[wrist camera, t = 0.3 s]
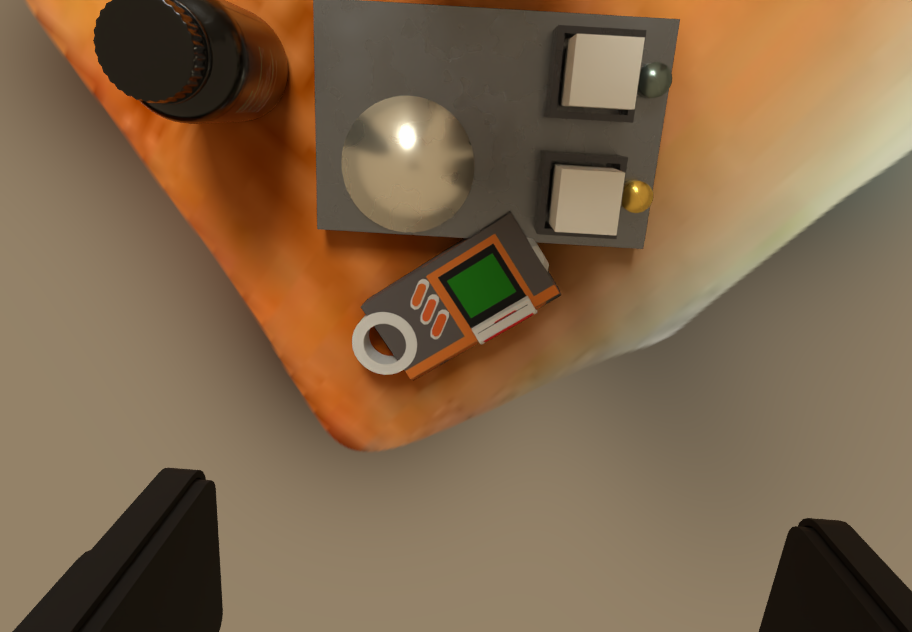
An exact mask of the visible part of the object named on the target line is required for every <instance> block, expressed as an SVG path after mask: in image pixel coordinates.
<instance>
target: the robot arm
mask: <svg viewBox="0 0 912 632" xmlns="http://www.w3.org/2000/svg"><path fill="white" fill-rule="evenodd" d="M218 539H219V538H218V521H217V504H216V488H215V484H214V482H213V481H211V480H206V479H205V475H204V473H203V472H202V471H201V470H190V469H177V468H164V469H163V470H162V471H161V472H159V473H158V475H157V476H156V477H155V478H154V479H153V480H152V481H151V482H150V484H149V485H148V486H147V487H146V488H145V489H144V490H143V492H142V493H141V494H140V495H139V496H138V497H137V498H136V500H135V501H134V502H133V503H132V504H131V505H130V506H129V508H128V509H127V510H126V511H125V512H124V513H123V514H122V515H121V516H120V518H119V519H118V520H117V521H116V522H115V524H113V526H112V527H111V528H110V529H109V530H108V531H107V533H106V534H105V535H104V536H103V537H102V538H101V539H100V540H99V541H98V543H97V544H96V545H95V546H94V547H93V548H92V549H91V550H90V551H87V552H85V553H84V554H83V555H82V556H81V557H80V558H78V560H76V561H75V563H74V564H73V565H72V566H71V567H70V568H69V569H68V570H67V572H66V573H65V574H64V575H63V576H62V577H61V578H60V579H59V580H58V582H57V583H56V584H55V585H54V586H53V587H52V588H51V590H49V592H48V593H47V594H46V595H45V596H44V597H43V598H42V600H41V601H40V602H39V603H38V604H37V605H36V606H35V607H34V608H33V610H32V611H31V612H30V613H29V614H28V615H27V616H26V617H25V619H24V620H23V621H22V622H21V623H20V624H19V625H18V626H17V628H16V629H15V630H14V631H13V632H219V630H220V627H221V622H222V615H223V613H222V612H223V608H222V591H221V575H220V574H221V573H220V556H219V540H218ZM759 632H912V591H911V590H910V589H909V588H908V587H907V586H906V585H905V584H904V583H903V582H902V581H901V580H900V579H899V578H898V576H897V575H896V574H895V573H894V572H893V571H892V570H891V569H890V568H889V567H888V566H887V565H886V564H885V562H884V561H883V560H882V559H881V558H880V557H879V556H878V555H877V554H876V553H875V552H874V551H873V550H872V549H871V548H870V547H869V545H868V544H867V543H866V542H865V541H864V540H863V539H862V538H861V537H860V536H859V535H858V534H857V533H856V531H855V530H854V529H853V528H852V527H851V526H850V525H848V524H847V523H846V522H843V521H838V520H825V519H812V518H807V519H803V520H802V521H801V522H800V523H799V525H798V527H796V526H795V527H792V528H791V529H790V530H789V533H788V535H787V538H786V541H785V545H784V548H783V551H782V555H781V558H780V562H779V565H778V568H777V572H776V575H775V579H774V582H773V585H772V589H771V592H770V596H769V599H768V602H767V606H766V609H765V612H764V616H763V619H762V623H761V626H760V629H759Z"/></svg>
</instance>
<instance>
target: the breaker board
mask: <svg viewBox="0 0 912 632" xmlns="http://www.w3.org/2000/svg"><path fill="white" fill-rule="evenodd" d="M313 6H314V62H315V119H316V175H317V229H324V230H340V231H357V232H373V233H390V234H406V235H423V236H439V237H456V238H471V237H472V236H474V235H475V234H477V233H479V232H480V231H482V230H483V229H485V228H487V227H488V226H490V225H491V224H493V223H495V222H496V221H498V220H499V219H501V218H503V217H504V216H506V215H507V214H509V213H512V215H513V216H514V218H515V220H516V221H517V223H518V224H519V226H520V228H521V229H522V231H523V233H524V234H525V236H526V237H528V238H531V239H534V240H535V242H538V243H554V244H571V245H587V246H604V247H620V248H637V249H643V247H644V241H645V235H646V228H647V222H648V216H649V210H650V205H651V203H652V200H653V185H654V178H655V172H656V166H657V160H658V153H659V147H660V141H661V135H662V129H663V122H664V116H665V110H666V104H667V97H668V91H669V88H670V86H671V83H672V74H671V72H672V66H673V60H674V54H675V47H676V41H677V35H678V29H679V22H680V19H665V18H648V17H631V16H614V15H597V14H580V13H563V12H546V11H529V10H513V9H496V8H479V7H462V6H445V5H428V4H411V3H394V2H378V1H361V0H313ZM576 34H593V35H610V36H627V37H644V38H645V41H644V48H643V54H642V61H641V68H640V75H639V82H638V89H637V96H636V103H635V109H628V110H618V109H601V108H584V107H567V106H560V102H561V92H562V83H563V73H564V64H565V55H566V45H567V40H569V39H570V38H572V37H573V36H574V35H576ZM554 164H564V165H581V166H598V167H612V168H615V169H617V170H620V171H622V172H625V179H624V186H623V193H622V200H621V207H620V214H619V221H618V228H617V235H599V234H583V233H566V232H555V231H554V230H553V228H552V227H551V225H550V224H549V223H548V215H549V205H550V196H551V186H552V177H553V167H554Z"/></svg>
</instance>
